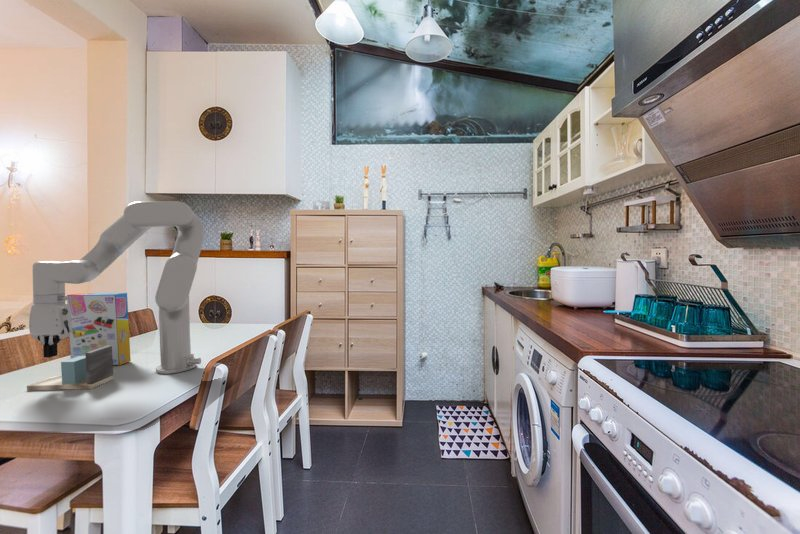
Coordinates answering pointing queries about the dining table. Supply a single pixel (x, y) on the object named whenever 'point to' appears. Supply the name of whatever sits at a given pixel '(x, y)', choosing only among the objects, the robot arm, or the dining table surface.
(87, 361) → the wooden bookend
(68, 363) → the pale blue upright box
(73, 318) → the game box
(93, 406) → the dining table surface
